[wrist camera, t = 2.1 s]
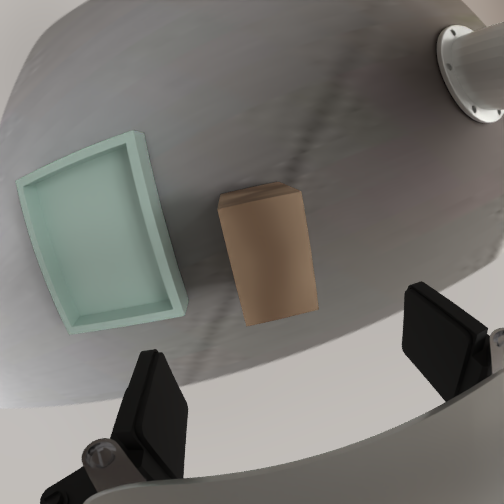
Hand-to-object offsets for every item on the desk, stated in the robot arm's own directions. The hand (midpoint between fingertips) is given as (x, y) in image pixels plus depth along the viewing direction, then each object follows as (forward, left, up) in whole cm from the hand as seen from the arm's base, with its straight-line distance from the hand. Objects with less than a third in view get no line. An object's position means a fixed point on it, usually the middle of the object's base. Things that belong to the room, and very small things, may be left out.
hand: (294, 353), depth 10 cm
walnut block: (-1, 0, -17) cm, 17 cm away
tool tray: (+13, -3, -17) cm, 22 cm away
